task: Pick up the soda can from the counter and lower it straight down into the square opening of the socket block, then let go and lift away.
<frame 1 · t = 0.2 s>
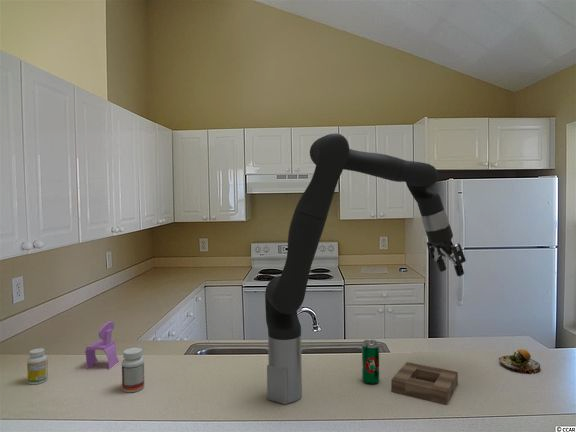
hand: (451, 272, 132), 31 cm above the counter, fingers open, 8 cm apart
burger: (519, 368, 134), on the counter
soda can: (370, 382, 125), on the counter
socket block: (425, 387, 120), on the counter
pill bottle: (133, 389, 122), on the counter
toy chair: (102, 366, 140), on the counter
supplement bottle: (38, 381, 128), on the counter
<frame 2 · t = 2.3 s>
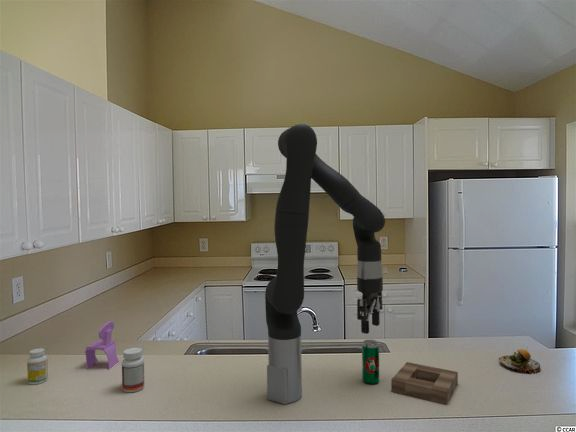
hand: (370, 329, 124), 16 cm above the counter, fingers open, 8 cm apart
nothing on the counter moved.
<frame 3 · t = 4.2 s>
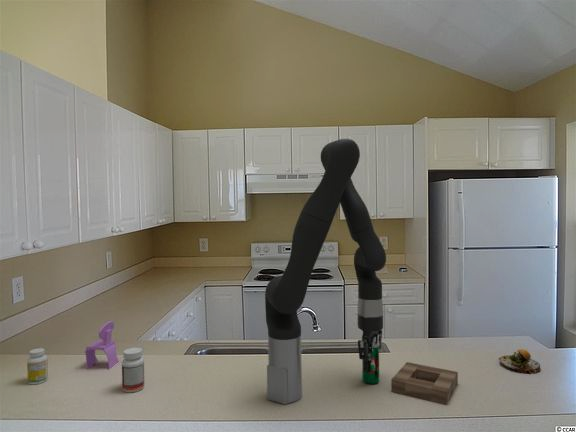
hand: (370, 368, 124), 4 cm above the counter, fingers closed on soda can, 5 cm apart
soda can: (370, 382, 125), on the counter, touching gripper
everything else where it was.
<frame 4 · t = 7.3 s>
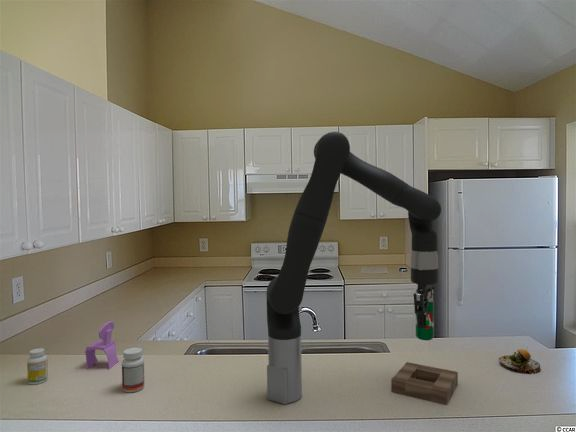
hand: (424, 324, 119), 18 cm above the counter, fingers closed on soda can, 5 cm apart
soda can: (424, 338, 119), point 14 cm above the counter, touching gripper
everything else where it was.
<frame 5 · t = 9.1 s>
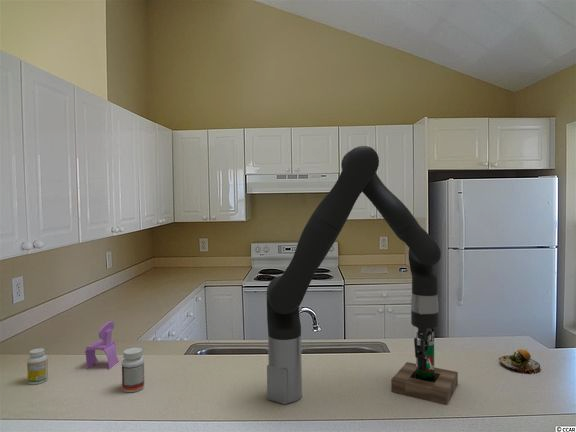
hand: (425, 367, 120), 6 cm above the counter, fingers closed on soda can, 5 cm apart
soda can: (425, 381, 120), point 2 cm above the counter, touching gripper
everything else where it was.
when the fingers open (5 cm above the counter, at t = 10.5 s): soda can stays where it is, resting in socket block.
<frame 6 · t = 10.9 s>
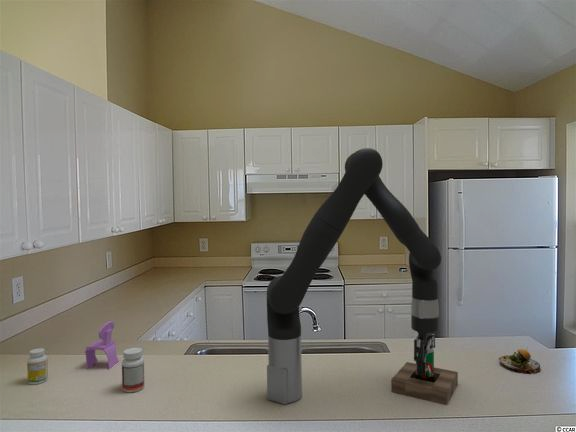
hand: (425, 369, 120), 5 cm above the counter, fingers open, 8 cm apart
soda can: (424, 388, 120), resting in socket block
everything else where it was.
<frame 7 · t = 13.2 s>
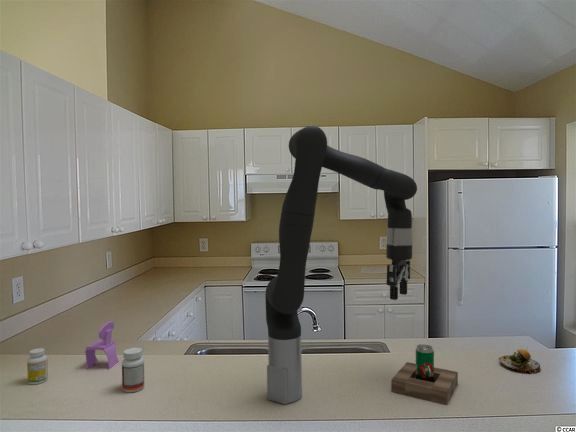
hand: (398, 296, 125), 25 cm above the counter, fingers open, 8 cm apart
nothing on the counter moved.
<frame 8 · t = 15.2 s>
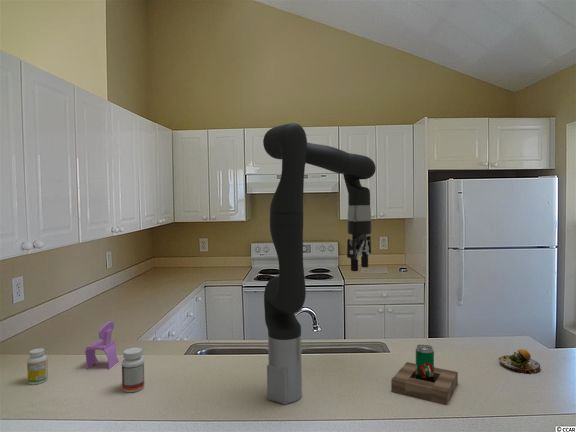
hand: (359, 269, 135), 32 cm above the counter, fingers open, 8 cm apart
nothing on the counter moved.
at the end: soda can 0.1 cm off-centre on the socket block, point 0.0 cm above the socket block's base; soda can tilted 0°; the gripper is holding nothing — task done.
